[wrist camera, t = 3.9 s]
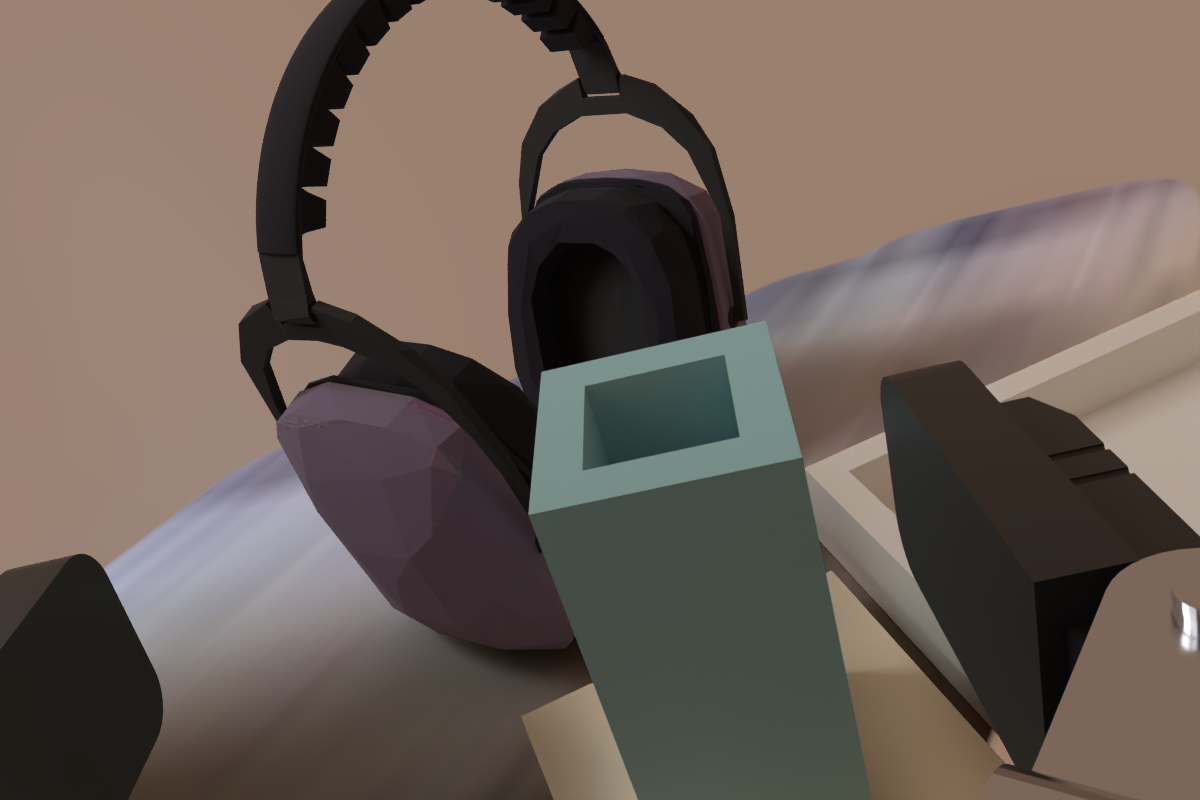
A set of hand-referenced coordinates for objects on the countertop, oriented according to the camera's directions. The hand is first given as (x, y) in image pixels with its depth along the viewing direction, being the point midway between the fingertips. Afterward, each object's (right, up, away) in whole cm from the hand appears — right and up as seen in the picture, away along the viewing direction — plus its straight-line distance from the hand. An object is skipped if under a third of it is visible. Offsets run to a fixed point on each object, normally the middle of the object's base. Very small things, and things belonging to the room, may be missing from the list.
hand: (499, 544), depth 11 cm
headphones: (+1, -3, +29) cm, 29 cm away
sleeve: (+5, -8, +16) cm, 19 cm away
